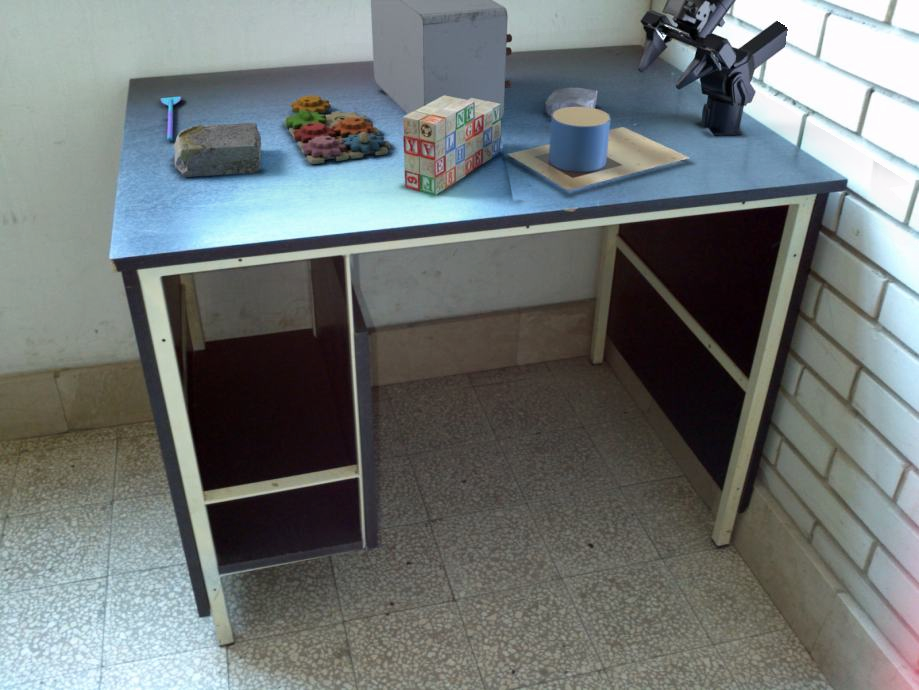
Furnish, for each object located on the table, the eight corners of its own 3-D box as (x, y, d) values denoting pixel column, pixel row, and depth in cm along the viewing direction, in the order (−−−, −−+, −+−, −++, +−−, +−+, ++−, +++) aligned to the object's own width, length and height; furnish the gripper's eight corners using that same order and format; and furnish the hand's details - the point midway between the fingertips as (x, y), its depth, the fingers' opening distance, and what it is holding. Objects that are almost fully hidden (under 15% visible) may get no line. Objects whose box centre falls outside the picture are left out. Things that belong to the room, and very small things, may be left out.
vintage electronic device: (512, 126, 172) (518, -9, 158) (424, 138, 166) (422, -2, 152) (453, 78, 196) (454, -43, 182) (374, 87, 191) (369, -37, 177)
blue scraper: (162, 98, 183) (161, 93, 182) (182, 97, 184) (181, 92, 183) (150, 143, 163) (149, 136, 162) (174, 141, 163) (172, 135, 163)
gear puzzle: (272, 109, 178) (270, 89, 176) (349, 100, 183) (348, 81, 181) (308, 166, 154) (306, 144, 152) (396, 154, 159) (395, 133, 157)
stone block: (544, 129, 175) (595, 123, 173) (541, 105, 173) (592, 98, 170) (551, 111, 185) (599, 105, 183) (548, 88, 183) (597, 82, 180)
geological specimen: (262, 144, 150) (169, 147, 146) (264, 177, 153) (174, 181, 149) (258, 120, 158) (170, 122, 154) (260, 153, 161) (174, 155, 158)
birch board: (622, 131, 170) (623, 126, 170) (689, 163, 157) (689, 157, 157) (506, 159, 158) (506, 153, 158) (568, 195, 146) (568, 189, 145)
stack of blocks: (471, 146, 163) (472, 80, 156) (500, 154, 160) (503, 86, 153) (404, 187, 148) (402, 115, 141) (435, 195, 145) (435, 122, 138)
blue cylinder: (601, 150, 159) (605, 106, 155) (610, 172, 151) (615, 126, 147) (545, 150, 159) (548, 106, 155) (551, 172, 151) (555, 126, 146)
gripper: (655, -38, 154) (601, 38, 156) (738, -10, 142) (678, 72, 144) (680, 0, 163) (628, 72, 165) (760, 29, 151) (703, 106, 153)
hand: (658, 79), depth 156 cm, fingers open, 9 cm apart
